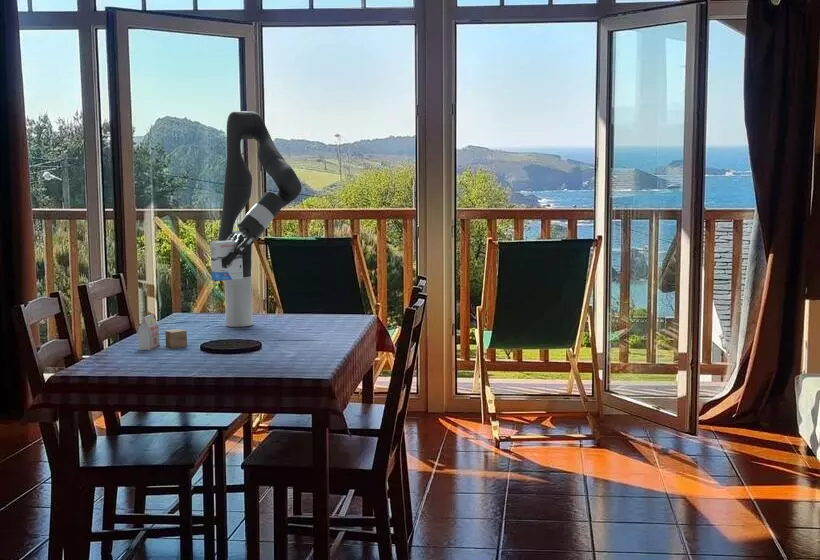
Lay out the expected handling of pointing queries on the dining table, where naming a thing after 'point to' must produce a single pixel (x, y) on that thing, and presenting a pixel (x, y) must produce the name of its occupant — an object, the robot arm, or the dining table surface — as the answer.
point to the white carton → (148, 333)
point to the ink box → (219, 267)
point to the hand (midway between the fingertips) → (221, 262)
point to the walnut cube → (176, 338)
